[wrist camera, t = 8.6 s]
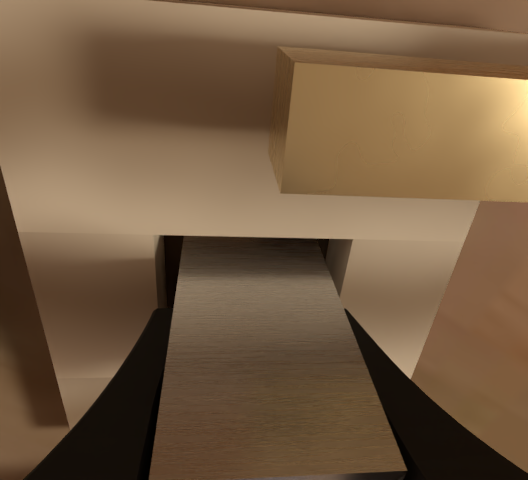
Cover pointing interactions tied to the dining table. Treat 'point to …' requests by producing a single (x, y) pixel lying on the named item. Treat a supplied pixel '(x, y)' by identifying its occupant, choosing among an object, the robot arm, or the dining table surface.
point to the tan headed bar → (398, 126)
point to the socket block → (196, 167)
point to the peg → (266, 371)
